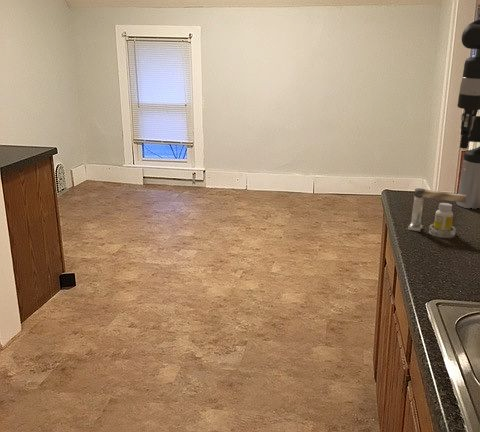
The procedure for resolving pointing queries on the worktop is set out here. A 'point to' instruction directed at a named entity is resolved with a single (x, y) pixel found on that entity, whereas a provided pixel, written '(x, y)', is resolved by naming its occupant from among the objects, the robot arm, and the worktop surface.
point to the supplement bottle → (443, 217)
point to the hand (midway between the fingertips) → (463, 147)
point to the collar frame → (417, 227)
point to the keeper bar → (440, 195)
